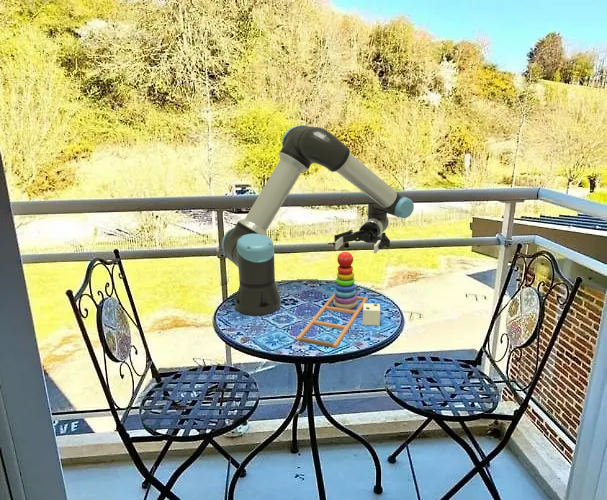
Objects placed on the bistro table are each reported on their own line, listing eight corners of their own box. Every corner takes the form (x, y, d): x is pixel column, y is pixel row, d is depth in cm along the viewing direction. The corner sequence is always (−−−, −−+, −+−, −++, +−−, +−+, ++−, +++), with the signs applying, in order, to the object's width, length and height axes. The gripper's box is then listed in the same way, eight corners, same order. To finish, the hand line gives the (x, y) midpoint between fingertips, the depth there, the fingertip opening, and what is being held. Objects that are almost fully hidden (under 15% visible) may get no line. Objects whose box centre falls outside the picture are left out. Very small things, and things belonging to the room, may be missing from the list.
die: (362, 325, 139) (363, 309, 138) (363, 317, 144) (363, 302, 142) (379, 325, 139) (380, 310, 137) (379, 318, 143) (379, 303, 142)
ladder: (296, 340, 131) (296, 337, 131) (334, 295, 161) (334, 292, 160) (336, 348, 127) (336, 345, 126) (367, 299, 156) (367, 297, 156)
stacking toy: (331, 300, 156) (332, 248, 151) (355, 299, 157) (356, 247, 151) (334, 310, 149) (335, 256, 143) (359, 309, 149) (360, 255, 143)
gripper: (403, 243, 171) (391, 261, 153) (339, 237, 181) (321, 254, 162) (404, 223, 169) (392, 240, 150) (339, 219, 178) (320, 234, 160)
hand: (355, 247), depth 156 cm, fingers open, 13 cm apart
